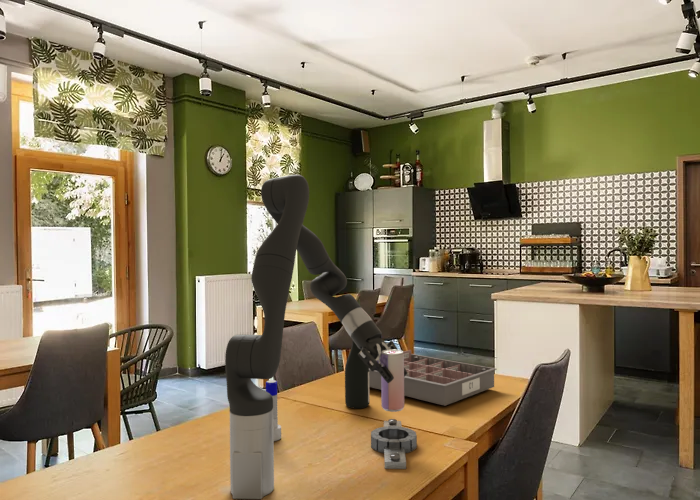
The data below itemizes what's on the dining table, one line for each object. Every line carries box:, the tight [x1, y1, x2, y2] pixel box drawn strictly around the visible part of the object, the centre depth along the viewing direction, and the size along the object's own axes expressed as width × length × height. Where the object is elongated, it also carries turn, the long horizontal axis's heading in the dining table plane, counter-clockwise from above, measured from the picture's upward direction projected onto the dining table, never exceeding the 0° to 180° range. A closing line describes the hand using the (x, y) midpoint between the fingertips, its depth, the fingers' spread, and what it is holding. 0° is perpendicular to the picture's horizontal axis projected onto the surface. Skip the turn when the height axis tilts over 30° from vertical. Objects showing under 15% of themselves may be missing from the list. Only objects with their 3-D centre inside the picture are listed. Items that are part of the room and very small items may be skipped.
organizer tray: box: [369, 349, 497, 406], centre depth 191 cm, size 32×40×10 cm
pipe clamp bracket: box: [370, 418, 418, 470], centre depth 137 cm, size 29×12×3 cm, turn 177°
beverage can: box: [380, 349, 405, 413], centre depth 137 cm, size 6×6×15 cm
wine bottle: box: [344, 340, 371, 409], centre depth 171 cm, size 8×8×30 cm
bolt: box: [265, 379, 282, 442], centre depth 142 cm, size 16×5×5 cm
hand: (398, 378), depth 135 cm, fingers closed on beverage can, 6 cm apart
